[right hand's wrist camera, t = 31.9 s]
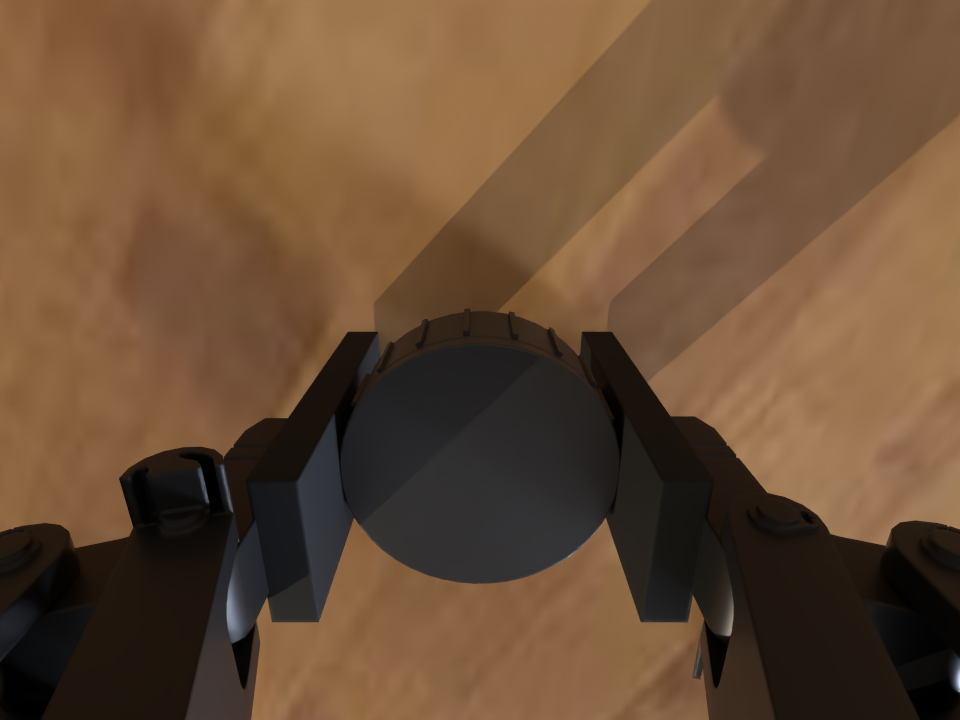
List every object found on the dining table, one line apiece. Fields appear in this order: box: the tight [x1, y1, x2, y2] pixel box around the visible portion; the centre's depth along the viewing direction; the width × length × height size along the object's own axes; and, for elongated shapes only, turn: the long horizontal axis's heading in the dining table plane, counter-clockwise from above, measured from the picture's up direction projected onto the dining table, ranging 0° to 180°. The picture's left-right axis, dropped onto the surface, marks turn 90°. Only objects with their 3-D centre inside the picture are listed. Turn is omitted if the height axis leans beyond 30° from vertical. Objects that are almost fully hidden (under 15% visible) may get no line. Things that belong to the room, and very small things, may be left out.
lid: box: [339, 309, 620, 584], centre depth 11 cm, size 5×5×2 cm
